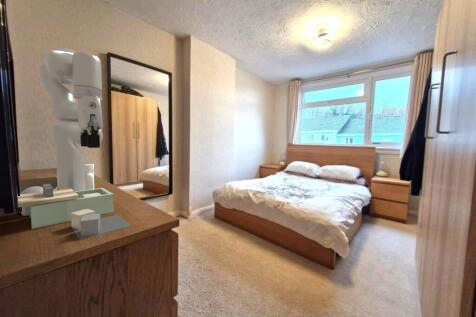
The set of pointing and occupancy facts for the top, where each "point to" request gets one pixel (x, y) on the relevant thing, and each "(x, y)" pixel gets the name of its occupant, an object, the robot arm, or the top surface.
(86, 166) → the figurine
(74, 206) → the bin
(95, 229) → the light grey cube
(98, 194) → the white stacked cube
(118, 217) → the mat
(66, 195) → the lid
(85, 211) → the beige cube
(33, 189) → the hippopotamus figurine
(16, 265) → the top surface
